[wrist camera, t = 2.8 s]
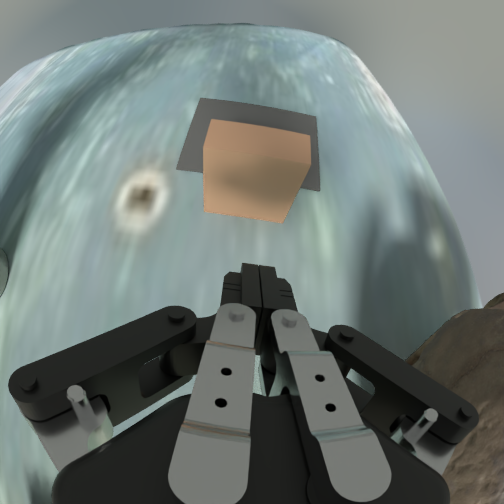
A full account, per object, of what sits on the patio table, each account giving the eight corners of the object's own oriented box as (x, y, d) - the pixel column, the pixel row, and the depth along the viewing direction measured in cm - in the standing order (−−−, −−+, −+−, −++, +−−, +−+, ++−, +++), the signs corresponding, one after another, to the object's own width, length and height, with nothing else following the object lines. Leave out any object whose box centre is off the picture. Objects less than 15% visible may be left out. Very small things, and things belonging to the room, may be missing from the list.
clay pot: (354, 306, 34) (524, 208, 11) (473, 343, 34) (601, 301, 11) (298, 489, 24) (421, 613, 1) (437, 486, 24) (562, 512, 1)
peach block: (204, 211, 36) (203, 147, 25) (209, 185, 37) (211, 118, 26) (282, 223, 37) (311, 164, 26) (284, 196, 38) (310, 134, 27)
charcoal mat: (176, 169, 38) (176, 168, 37) (200, 99, 44) (200, 98, 43) (319, 191, 39) (320, 190, 39) (315, 117, 45) (316, 116, 45)
